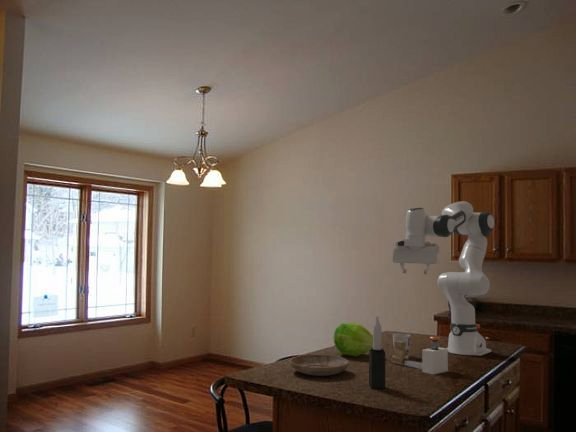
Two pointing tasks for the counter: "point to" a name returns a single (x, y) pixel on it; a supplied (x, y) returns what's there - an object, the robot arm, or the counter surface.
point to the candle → (377, 360)
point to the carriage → (399, 352)
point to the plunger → (435, 343)
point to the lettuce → (353, 339)
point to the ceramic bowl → (319, 364)
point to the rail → (412, 364)
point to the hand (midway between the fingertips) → (415, 273)
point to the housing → (434, 360)
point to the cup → (403, 338)
